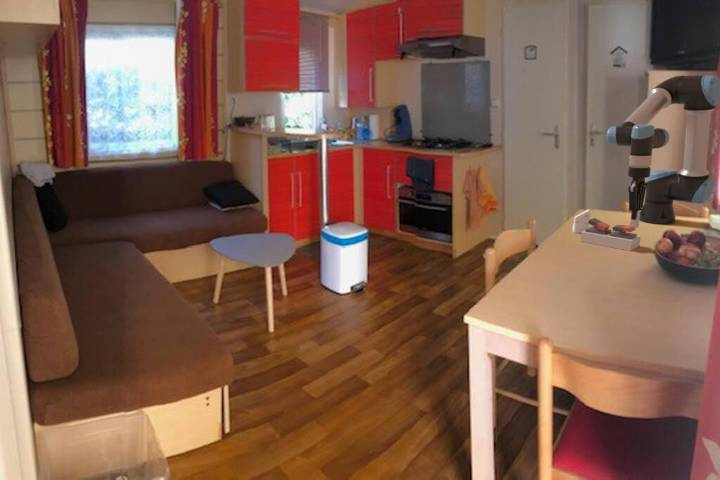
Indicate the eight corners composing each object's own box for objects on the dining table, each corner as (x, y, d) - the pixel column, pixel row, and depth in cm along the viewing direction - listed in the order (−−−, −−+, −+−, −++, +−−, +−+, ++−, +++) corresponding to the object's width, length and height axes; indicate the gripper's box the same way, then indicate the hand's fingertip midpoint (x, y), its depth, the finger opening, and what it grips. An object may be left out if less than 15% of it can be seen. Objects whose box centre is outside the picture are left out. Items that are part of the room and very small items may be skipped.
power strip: (590, 237, 252) (591, 225, 251) (639, 245, 239) (640, 233, 237) (580, 241, 246) (581, 229, 245) (630, 250, 233) (631, 238, 231)
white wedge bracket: (599, 227, 258) (590, 210, 256) (577, 238, 260) (568, 221, 258) (596, 225, 261) (587, 208, 260) (575, 236, 263) (566, 219, 262)
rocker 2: (617, 230, 242) (617, 224, 241) (635, 231, 237) (635, 226, 236) (612, 232, 238) (612, 227, 238) (630, 234, 233) (630, 228, 233)
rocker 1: (592, 222, 248) (594, 217, 247) (607, 230, 244) (610, 225, 243) (587, 224, 245) (589, 219, 244) (602, 232, 241) (605, 227, 240)
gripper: (636, 163, 235) (630, 223, 241) (622, 167, 226) (617, 228, 232) (656, 165, 230) (650, 225, 236) (643, 169, 221) (637, 231, 227)
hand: (634, 227), depth 234 cm, fingers closed
